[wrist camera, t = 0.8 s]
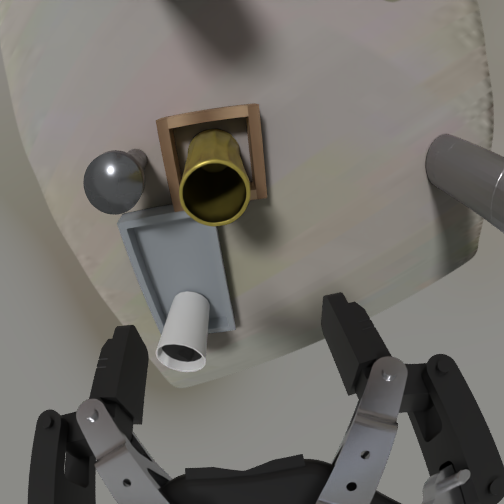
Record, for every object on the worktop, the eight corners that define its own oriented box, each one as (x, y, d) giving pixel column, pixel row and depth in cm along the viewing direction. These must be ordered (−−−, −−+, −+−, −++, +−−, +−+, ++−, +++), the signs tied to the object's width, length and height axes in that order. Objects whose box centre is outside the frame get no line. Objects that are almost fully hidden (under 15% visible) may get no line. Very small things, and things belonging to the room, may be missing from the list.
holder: (254, 103, 29) (258, 104, 27) (263, 189, 35) (267, 197, 33) (160, 118, 29) (155, 120, 26) (177, 202, 35) (174, 212, 32)
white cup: (217, 295, 41) (210, 351, 33) (207, 323, 45) (200, 376, 37) (173, 284, 40) (157, 337, 32) (167, 313, 44) (154, 364, 35)
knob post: (154, 131, 29) (134, 146, 22) (163, 178, 33) (148, 207, 25) (108, 143, 29) (76, 162, 21) (119, 188, 32) (93, 219, 25)
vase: (226, 184, 34) (236, 242, 22) (180, 167, 32) (161, 216, 20) (247, 140, 32) (271, 173, 20) (199, 121, 30) (191, 140, 18)
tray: (211, 197, 35) (212, 205, 33) (234, 317, 46) (235, 329, 44) (122, 213, 34) (117, 223, 32) (164, 326, 46) (163, 338, 43)
